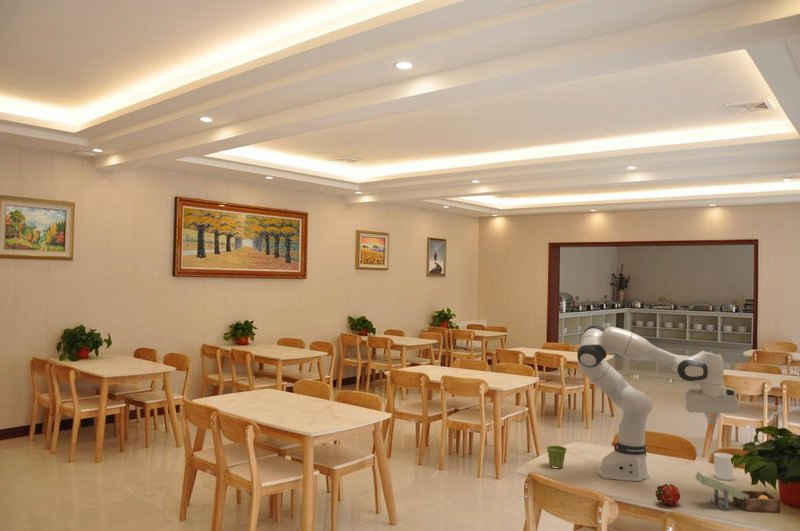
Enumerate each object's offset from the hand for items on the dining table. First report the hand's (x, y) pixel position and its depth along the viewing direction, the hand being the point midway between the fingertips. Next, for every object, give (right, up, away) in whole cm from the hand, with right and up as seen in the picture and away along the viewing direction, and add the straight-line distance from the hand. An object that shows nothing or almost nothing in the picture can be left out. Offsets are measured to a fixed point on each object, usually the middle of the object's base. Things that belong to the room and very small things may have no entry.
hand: (712, 423), depth 253 cm
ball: (+13, -26, -15) cm, 33 cm away
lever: (-3, -23, -10) cm, 25 cm away
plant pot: (-55, -30, +35) cm, 72 cm away
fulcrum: (-3, -29, -13) cm, 32 cm away
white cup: (+16, -30, +20) cm, 39 cm away
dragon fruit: (-23, -29, -12) cm, 39 cm away
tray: (+10, -29, -14) cm, 34 cm away
